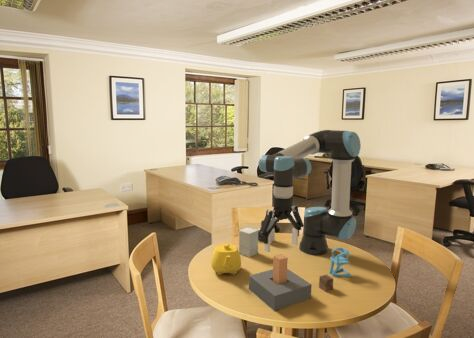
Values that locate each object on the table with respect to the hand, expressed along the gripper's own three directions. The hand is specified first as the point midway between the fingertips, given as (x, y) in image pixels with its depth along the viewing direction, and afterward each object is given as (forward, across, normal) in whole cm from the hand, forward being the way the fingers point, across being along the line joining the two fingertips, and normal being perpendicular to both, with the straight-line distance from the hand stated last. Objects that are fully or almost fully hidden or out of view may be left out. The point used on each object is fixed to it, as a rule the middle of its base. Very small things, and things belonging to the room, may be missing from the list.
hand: (281, 247), depth 137 cm
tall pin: (+20, 0, 0) cm, 20 cm away
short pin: (+20, -19, +6) cm, 29 cm away
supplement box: (+20, -9, -40) cm, 46 cm away
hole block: (+20, +1, 0) cm, 20 cm away
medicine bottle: (+21, -27, -50) cm, 60 cm away
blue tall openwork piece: (+20, -34, -1) cm, 40 cm away
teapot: (+20, +11, -27) cm, 35 cm away
